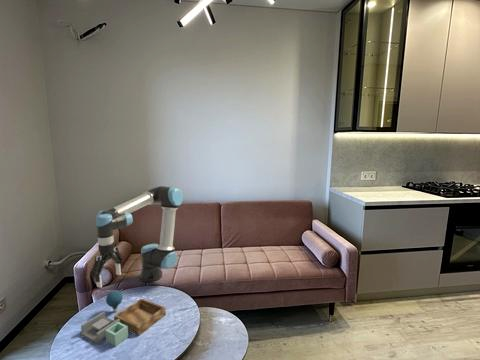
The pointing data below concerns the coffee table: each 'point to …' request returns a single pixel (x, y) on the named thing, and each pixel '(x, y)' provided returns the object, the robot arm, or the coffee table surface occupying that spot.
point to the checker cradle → (93, 333)
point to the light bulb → (114, 299)
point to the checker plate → (101, 324)
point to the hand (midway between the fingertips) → (109, 280)
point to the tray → (141, 316)
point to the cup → (116, 334)
